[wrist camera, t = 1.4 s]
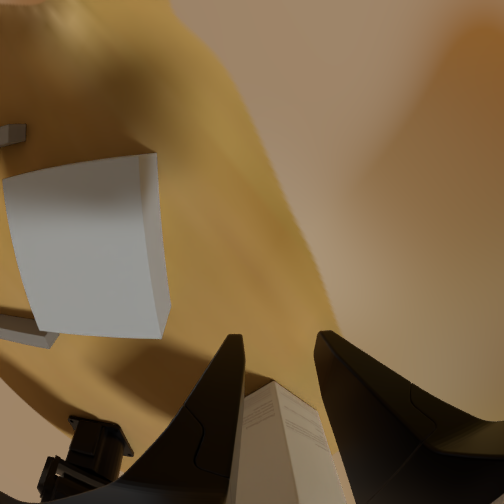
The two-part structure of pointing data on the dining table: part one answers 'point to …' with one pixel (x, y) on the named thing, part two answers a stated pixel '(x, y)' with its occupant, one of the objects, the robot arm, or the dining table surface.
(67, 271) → the carton
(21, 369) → the dining table surface
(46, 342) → the display bay
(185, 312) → the dining table surface
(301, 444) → the supplement box
